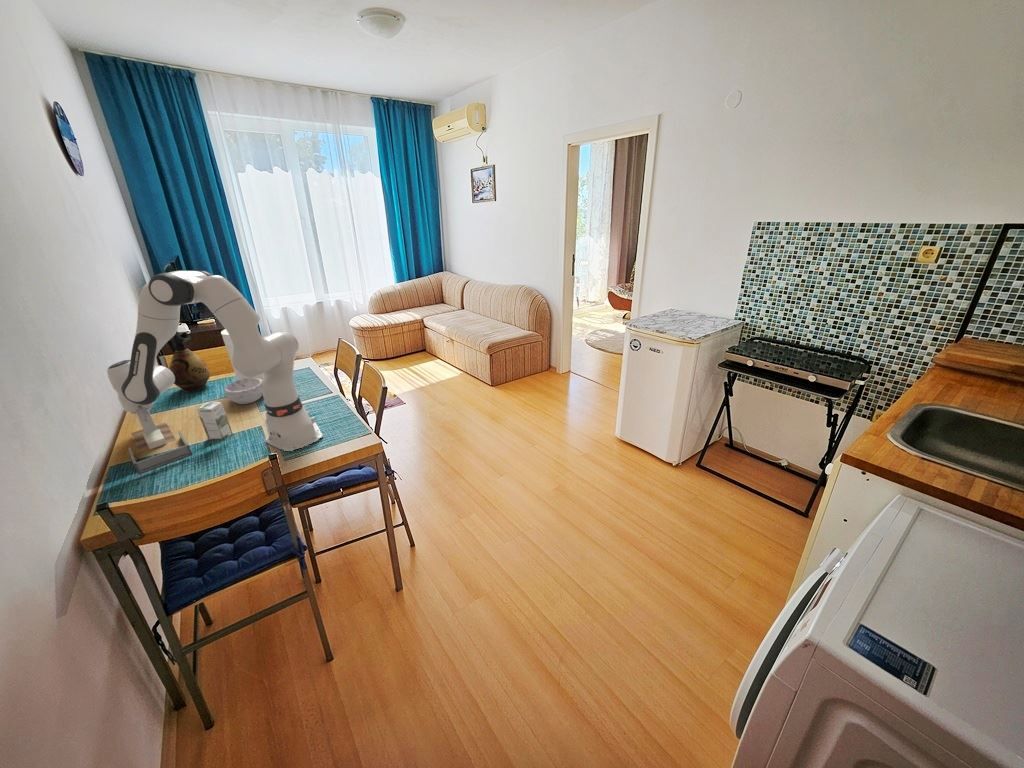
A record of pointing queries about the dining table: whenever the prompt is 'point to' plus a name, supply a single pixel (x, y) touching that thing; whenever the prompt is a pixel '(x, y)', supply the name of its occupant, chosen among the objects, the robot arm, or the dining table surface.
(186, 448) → the grey bin
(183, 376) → the ceramic jug
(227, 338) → the cylinder
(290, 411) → the robot arm
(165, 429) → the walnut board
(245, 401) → the white purple floral bowl
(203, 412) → the syrup box
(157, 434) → the sage tile
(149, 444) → the cream tile
